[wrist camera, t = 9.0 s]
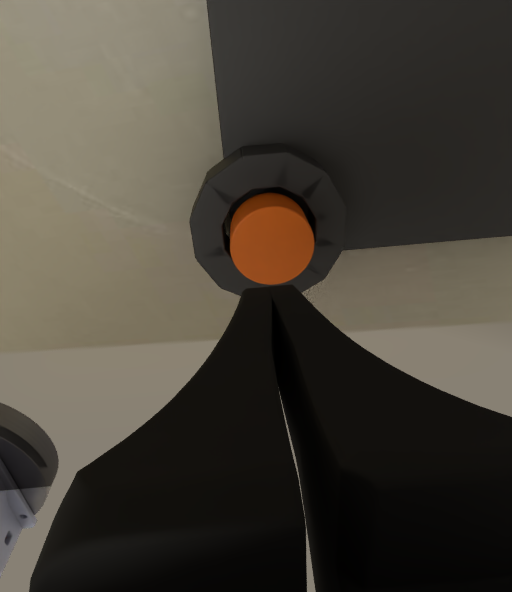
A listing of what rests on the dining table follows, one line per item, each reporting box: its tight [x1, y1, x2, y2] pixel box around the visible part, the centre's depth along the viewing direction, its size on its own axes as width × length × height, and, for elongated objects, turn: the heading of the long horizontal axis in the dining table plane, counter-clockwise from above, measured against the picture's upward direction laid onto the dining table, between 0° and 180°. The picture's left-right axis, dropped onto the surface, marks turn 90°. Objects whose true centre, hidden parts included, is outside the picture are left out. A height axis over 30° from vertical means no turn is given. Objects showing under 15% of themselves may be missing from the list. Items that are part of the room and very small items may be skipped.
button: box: [230, 193, 315, 285], centre depth 15 cm, size 3×3×2 cm
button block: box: [190, 0, 512, 296], centre depth 15 cm, size 18×11×3 cm, turn 94°
